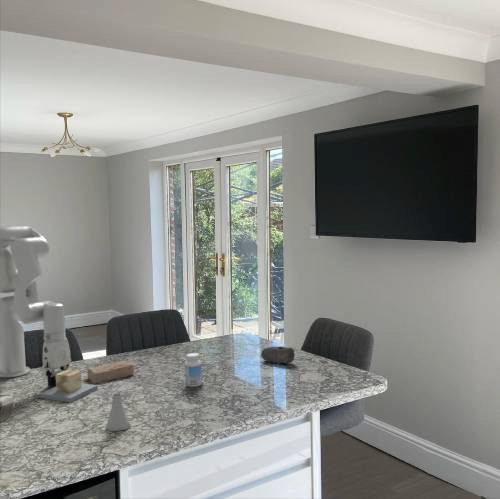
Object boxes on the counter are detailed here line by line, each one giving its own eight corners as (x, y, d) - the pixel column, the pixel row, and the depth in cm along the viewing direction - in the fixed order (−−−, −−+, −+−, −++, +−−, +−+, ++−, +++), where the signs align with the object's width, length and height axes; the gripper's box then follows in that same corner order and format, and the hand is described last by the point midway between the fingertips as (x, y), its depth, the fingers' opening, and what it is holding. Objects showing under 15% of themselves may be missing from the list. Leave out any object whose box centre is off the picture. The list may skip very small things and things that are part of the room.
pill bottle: (205, 383, 199) (204, 353, 198) (196, 388, 193) (195, 357, 192) (191, 381, 201) (190, 351, 201) (182, 386, 196) (181, 356, 195)
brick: (94, 384, 202) (93, 371, 202) (86, 378, 209) (86, 367, 209) (135, 375, 212) (134, 364, 212) (127, 370, 219) (126, 359, 218)
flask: (108, 423, 163) (106, 391, 162) (132, 421, 164) (130, 389, 163) (103, 432, 156) (102, 399, 155) (128, 431, 156) (127, 397, 156)
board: (39, 397, 188) (39, 393, 188) (67, 385, 201) (67, 381, 201) (70, 402, 182) (70, 398, 182) (97, 389, 195) (97, 385, 195)
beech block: (56, 390, 190) (55, 374, 190) (68, 385, 196) (67, 369, 195) (69, 392, 188) (69, 375, 187) (81, 387, 193) (80, 371, 193)
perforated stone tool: (258, 362, 225) (257, 345, 224) (264, 359, 229) (264, 343, 228) (289, 367, 216) (289, 350, 216) (295, 363, 221) (295, 347, 220)
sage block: (47, 386, 200) (46, 373, 200) (57, 382, 205) (56, 369, 204) (58, 387, 198) (57, 374, 198) (67, 383, 203) (66, 370, 202)
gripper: (45, 342, 191) (48, 392, 192) (78, 332, 206) (81, 378, 208) (29, 341, 194) (32, 390, 195) (63, 331, 209) (66, 376, 211)
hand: (57, 383), depth 201 cm, fingers closed on sage block, 5 cm apart
